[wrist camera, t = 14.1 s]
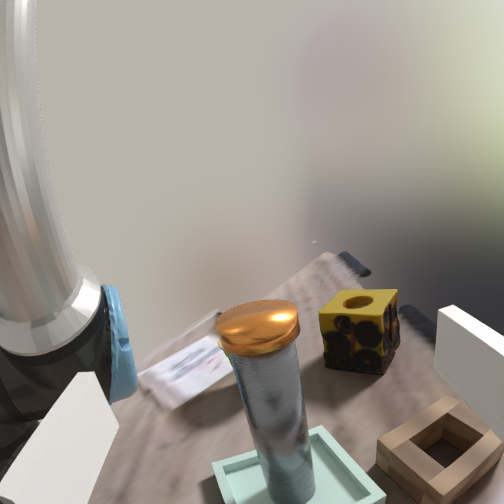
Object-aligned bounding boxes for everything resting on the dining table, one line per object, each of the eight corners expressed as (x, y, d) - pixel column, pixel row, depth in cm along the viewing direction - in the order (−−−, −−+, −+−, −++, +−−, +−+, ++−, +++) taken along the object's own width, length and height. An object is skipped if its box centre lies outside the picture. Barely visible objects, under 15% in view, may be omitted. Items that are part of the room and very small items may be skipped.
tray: (250, 563, 17) (245, 555, 16) (215, 473, 29) (211, 462, 29) (384, 505, 20) (386, 495, 20) (322, 436, 33) (321, 424, 32)
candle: (401, 343, 49) (399, 288, 47) (385, 376, 41) (384, 315, 39) (347, 339, 55) (342, 288, 54) (323, 369, 48) (316, 311, 46)
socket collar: (433, 517, 17) (443, 495, 16) (375, 462, 26) (377, 438, 25) (501, 457, 19) (511, 431, 19) (442, 419, 29) (446, 394, 28)
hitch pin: (276, 518, 21) (225, 342, 18) (257, 482, 26) (208, 313, 23) (330, 496, 23) (311, 314, 19) (306, 464, 28) (278, 294, 24)
